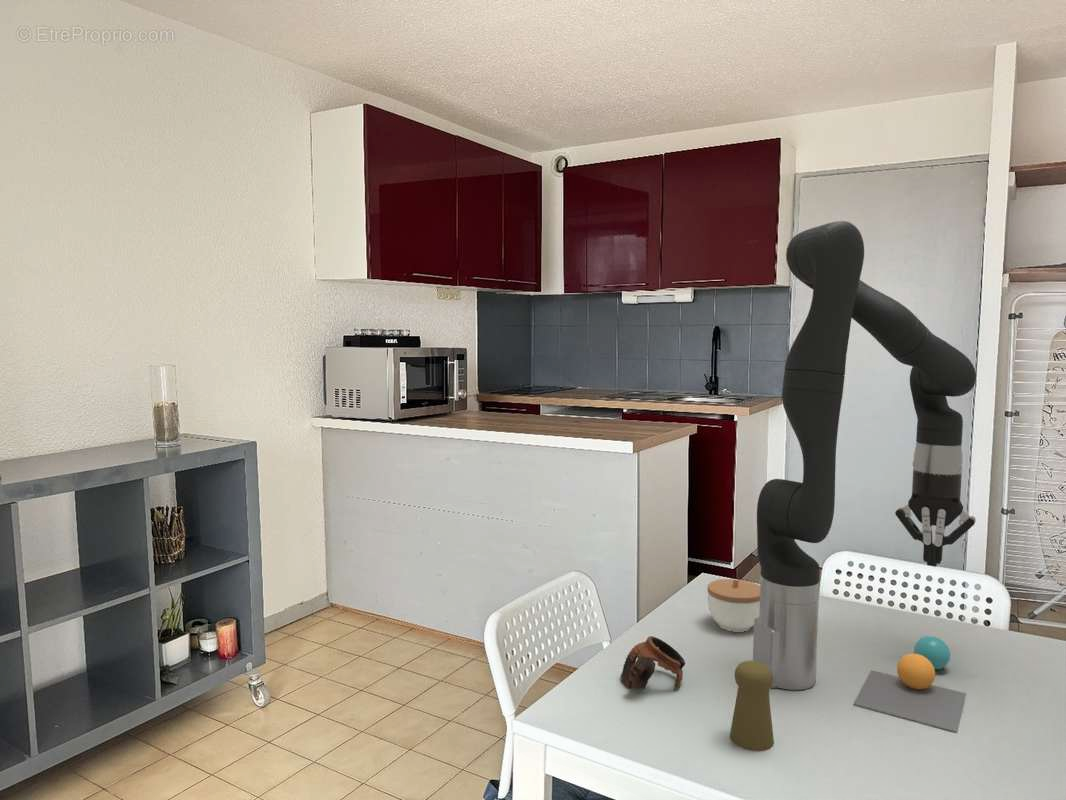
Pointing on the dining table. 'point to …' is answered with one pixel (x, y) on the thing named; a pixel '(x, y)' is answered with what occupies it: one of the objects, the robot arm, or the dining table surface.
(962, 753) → the dining table surface
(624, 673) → the brown smartwatch
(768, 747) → the olive pepper mill
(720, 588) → the lidded jar
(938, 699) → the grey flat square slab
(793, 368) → the robot arm
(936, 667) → the teal cue ball
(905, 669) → the orange ball
